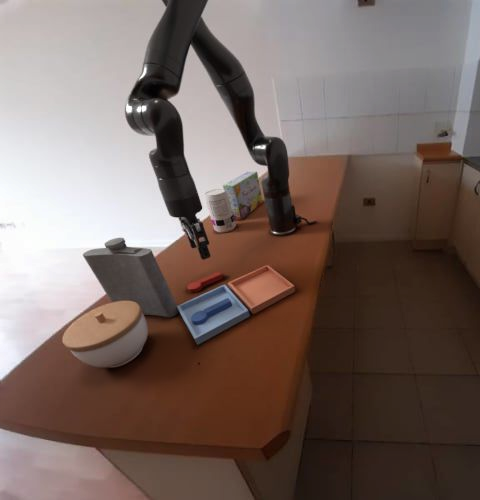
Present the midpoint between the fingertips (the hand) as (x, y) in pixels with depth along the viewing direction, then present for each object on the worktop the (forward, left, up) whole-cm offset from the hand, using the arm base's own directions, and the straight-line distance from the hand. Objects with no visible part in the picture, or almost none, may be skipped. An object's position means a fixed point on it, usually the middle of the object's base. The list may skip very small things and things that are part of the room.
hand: (200, 252), depth 74 cm
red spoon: (+1, 0, -10) cm, 10 cm away
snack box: (-32, -43, -10) cm, 55 cm away
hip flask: (+16, +1, -10) cm, 19 cm away
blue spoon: (+4, +14, -9) cm, 17 cm away
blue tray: (+4, +14, -10) cm, 18 cm away
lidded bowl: (+23, +12, -10) cm, 28 cm away
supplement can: (-17, -32, -10) cm, 38 cm away
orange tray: (-9, +14, -10) cm, 19 cm away
